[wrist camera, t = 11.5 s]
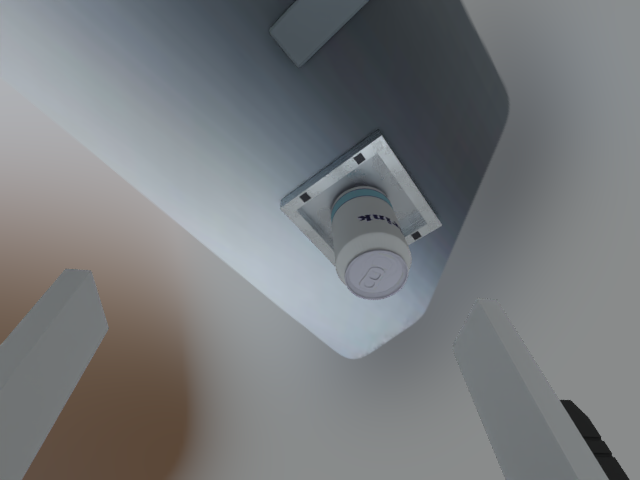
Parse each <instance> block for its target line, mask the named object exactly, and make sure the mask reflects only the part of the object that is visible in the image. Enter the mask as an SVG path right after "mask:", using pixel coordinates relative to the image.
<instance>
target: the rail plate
mask: <svg viewBox="0 0 640 480" xmlns="http://www.w3.org/2000/svg"><path fill="white" fill-rule="evenodd" d="M358 186H369V187H373V188H376V189H378V190H380V191H382V192H383V193H384V194H385V195H386V196H387V197H388V198H389V200H390V202H391V205H392V207H393V210H394V212H395V215H396V217H397V220H398V222H399V225H400V227H401V230H402V232H403V235H404V237H405V240H406V242H407V245H410V244H411V243H413V242H415V241H416V240H418V239H420V238H421V237H423V236H425V235H427V234H428V233H430V232H432V231H433V230H435V229H437V228H439V227H440V226H442V224H441V222H440V221H439V219H438V217H437V216H436V214H435V213H434V211H433V210H432V208H431V207H430V205H429V204H428V202H427V201H426V199H425V198H424V196H423V195H422V193H421V192H420V190H419V189H418V188H417V186H416V185H415V183H414V182H413V180H412V179H411V177H410V176H409V174H408V173H407V171H406V170H405V168H404V167H403V165H402V164H401V162H400V161H399V159H398V158H397V156H396V155H395V153H394V152H393V150H392V149H391V147H390V146H389V145H388V143H387V142H386V140H385V139H384V137H383V136H382V134H381V133H380V131H379V130H377V131H375V132H374V133H373V134H371V135H370V136H368V137H367V138H366V139H364V140H363V141H362V142H360V143H359V144H357V145H356V146H355V147H353V148H352V149H351V150H349V151H348V152H346V153H345V154H344V155H342V156H341V157H340V158H338V159H337V160H335V161H334V162H333V163H331V164H330V165H329V166H327V167H326V168H324V169H323V170H322V171H320V172H319V173H318V174H316V175H315V176H314V177H312V178H311V179H309V180H308V181H307V182H305V183H304V184H303V185H301V186H300V187H298V188H297V189H296V190H294V191H293V192H292V193H290V194H289V195H287V196H286V197H285V198H283V199H282V200H281V205H280V209H281V210H282V211H283V212H284V213H285V214H286V215H287V216H288V217H289V218H290V220H291V221H292V222H293V223H294V224H295V225H296V226H297V227H298V228H299V229H300V230H301V231H302V232H303V233H304V234H305V235H306V236H307V237H308V238H309V239H310V241H311V242H312V243H313V244H314V245H315V246H316V247H317V248H318V249H319V250H320V251H321V252H322V253H323V254H324V255H325V256H326V257H327V258H328V259H329V260H330V262H331V263H332V264H333V265H334V266H335V267H336V265H335V255H334V245H333V234H332V224H331V209H332V206H333V204H334V202H335V200H336V199H337V198H338V197H339V196H340V195H341V194H342V193H343V192H345V191H347V190H349V189H351V188H354V187H358Z"/></svg>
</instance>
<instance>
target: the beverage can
mask: <svg viewBox="0 0 640 480" xmlns="http://www.w3.org/2000/svg"><path fill="white" fill-rule="evenodd" d="M331 224H332V234H333V245H334V255H335V265H336V271H337V274H338V276H339V278H340V280H341V281H342V282H343V283H344V284H345V285H346V286H347V287H348V289H349V290H350V291H351V292H352V293H353V294H354V295H356V296H358V297H360V298H363V299H368V300H379V299H384V298H387V297H390V296H392V295H394V294H395V293H397V292H398V291H399V290H400V289H401V288H402V287H403V286H404V285H405V283H406V281H407V278H408V272H409V269H410V266H411V253H410V250H409V247H408V245H407V242H406V240H405V237H404V235H403V232H402V230H401V227H400V225H399V222H398V220H397V217H396V215H395V212H394V210H393V207H392V205H391V202H390V200H389V198H388V197H387V196H386V195H385V194H384V193H383V192H382V191H380V190H378V189H376V188H373V187H369V186H358V187H354V188H351V189H349V190H347V191H345V192H343V193H342V194H341V195H340V196H339V197H338V198H337V199H336V200H335V202H334V204H333V206H332V209H331Z"/></svg>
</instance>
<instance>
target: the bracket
mask: <svg viewBox="0 0 640 480" xmlns="http://www.w3.org/2000/svg"><path fill="white" fill-rule="evenodd" d="M368 1H369V0H296V1H295V2H294V3H293V4H292V6H291V7H290V8H289V9H288V10H287V11H286V12H285V13H284V14H283V15H282V16H281V17H280V18H279V19H278V20H277V22H276V23H275V24H274V25H273V26H272V27H271V28H270V29H269V33H270V35H271V36H272V37H273V38H274V39H275V41H276V42H277V43H278V44H279V46H280V47H281V48H282V49H283V50H284V52H285V53H286V54H287V55H288V57H289V58H290V59H291V60H292V62H293V63H294V64H295V65H296V66H297V67H299V68H300V67H301V66H302V65H303V64H304V63H306V62H307V61H308V60H309V59H310V58H311V57H312V56H313V55H314V54H315V53H316V52H317V51H318V50H319V49H320V48H321V47H322V46H323V45H324V44H325V43H326V42H327V41H328V40H329V39H330V38H331V37H332V36H333V35H334V34H335V33H336V32H337V31H338V30H339V29H340V28H341V27H342V26H343V25H345V24H346V23H347V22H348V21H349V20H350V19H351V18H352V17H353V16H354V15H355V14H356V13H357V12H358V11H359V10H360V9H361V8H362V7H363V6H364V5H365V4H366V3H367V2H368Z"/></svg>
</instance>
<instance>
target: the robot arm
mask: <svg viewBox="0 0 640 480" xmlns="http://www.w3.org/2000/svg"><path fill="white" fill-rule="evenodd" d="M108 329H109V327H108V324H107V321H106V317H105V314H104V311H103V308H102V305H101V301H100V298H99V294H98V292H97V288H96V285H95V281H94V278H93V275H92V272H91V270H77V269H65V270H64V271H63V273H62V274H61V275H60V276H59V277H58V278H57V280H56V281H55V282H54V283H53V284H52V286H51V287H50V288H49V289H48V290H47V291H46V292H45V294H44V295H43V296H42V297H41V298H40V300H39V301H38V302H37V303H36V304H35V305H34V307H33V308H32V309H31V310H30V311H29V312H28V314H27V315H26V316H25V317H24V318H23V320H22V321H21V322H20V323H19V324H18V325H17V327H16V328H15V329H14V330H13V331H12V332H11V334H10V335H9V336H8V337H7V338H6V340H5V341H4V342H3V343H2V344H1V345H0V480H22V478H23V477H24V475H25V473H26V471H27V470H28V468H29V466H30V464H31V463H32V461H33V459H34V458H35V456H36V454H37V452H38V451H39V449H40V447H41V445H42V444H43V442H44V440H45V438H46V436H47V435H48V433H49V431H50V430H51V428H52V426H53V425H54V423H55V421H56V419H57V418H58V416H59V414H60V412H61V411H62V409H63V407H64V405H65V403H66V402H67V400H68V398H69V397H70V395H71V393H72V391H73V390H74V388H75V386H76V384H77V383H78V381H79V379H80V377H81V375H82V374H83V372H84V370H85V369H86V367H87V365H88V364H89V362H90V360H91V358H92V357H93V355H94V353H95V351H96V350H97V348H98V346H99V345H100V343H101V341H102V339H103V337H104V336H105V334H106V332H107V331H108ZM451 348H452V350H453V353H454V355H455V358H456V360H457V363H458V365H459V367H460V370H461V372H462V375H463V377H464V380H465V382H466V384H467V387H468V389H469V392H470V394H471V397H472V399H473V402H474V404H475V406H476V409H477V411H478V414H479V416H480V419H481V421H482V423H483V426H484V428H485V431H486V433H487V436H488V438H489V441H490V443H491V445H492V448H493V450H494V453H495V455H496V458H497V460H498V463H499V465H500V467H501V470H502V472H503V475H504V477H505V479H506V480H629V478H628V477H627V475H626V474H625V472H624V471H623V469H622V468H621V466H620V465H619V463H618V462H617V460H616V459H615V457H612V453H611V451H610V450H609V448H608V447H607V445H606V444H605V442H604V441H602V440H601V436H600V435H599V433H598V432H597V430H596V428H595V427H594V425H593V424H592V422H591V421H590V419H589V418H588V417H587V416H586V415H585V414H584V413H583V412H582V411H581V410H580V409H579V408H578V407H577V406H576V405H575V404H574V403H573V402H572V401H571V400H559V398H558V397H557V395H556V394H555V392H554V390H553V389H552V387H551V385H550V384H549V382H548V381H547V379H546V377H545V376H544V374H543V373H542V371H541V369H540V368H539V366H538V365H537V363H536V361H535V360H534V358H533V357H532V355H531V353H530V352H529V350H528V348H527V347H526V345H525V344H524V342H523V340H522V339H521V337H520V336H519V334H518V332H517V331H516V329H515V328H514V326H513V324H512V323H511V321H510V320H509V318H508V316H507V315H506V313H505V311H504V310H503V308H502V307H501V305H500V303H499V302H498V300H495V299H481V298H477V300H476V301H475V303H474V305H473V307H472V309H471V311H470V313H469V315H468V317H467V319H466V321H465V322H464V324H463V326H462V328H461V330H460V332H459V334H458V336H457V338H456V340H455V342H454V343H453V345H452V347H451Z"/></svg>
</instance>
